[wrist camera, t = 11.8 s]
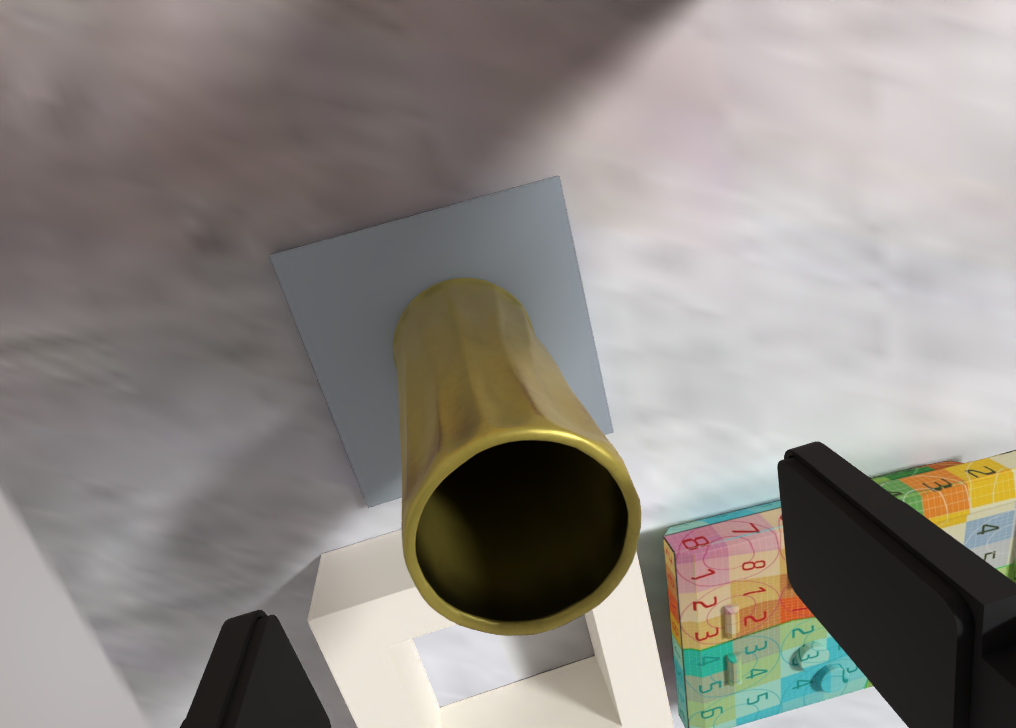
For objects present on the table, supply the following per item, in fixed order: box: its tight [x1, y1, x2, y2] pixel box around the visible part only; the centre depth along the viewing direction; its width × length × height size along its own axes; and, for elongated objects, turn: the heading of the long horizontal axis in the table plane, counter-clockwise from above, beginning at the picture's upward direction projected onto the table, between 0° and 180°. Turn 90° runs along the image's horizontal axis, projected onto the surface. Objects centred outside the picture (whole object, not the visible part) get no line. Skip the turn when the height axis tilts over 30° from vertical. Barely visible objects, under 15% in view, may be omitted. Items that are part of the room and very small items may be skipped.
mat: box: [269, 176, 613, 508], centre depth 27 cm, size 12×12×1 cm
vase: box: [392, 278, 641, 636], centre depth 20 cm, size 6×6×14 cm
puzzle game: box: [663, 450, 1016, 728], centre depth 32 cm, size 12×5×20 cm
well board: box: [307, 529, 674, 728], centre depth 30 cm, size 14×14×4 cm
